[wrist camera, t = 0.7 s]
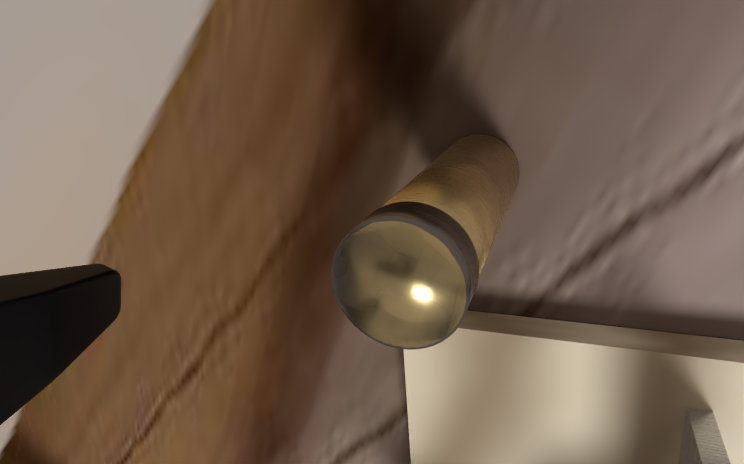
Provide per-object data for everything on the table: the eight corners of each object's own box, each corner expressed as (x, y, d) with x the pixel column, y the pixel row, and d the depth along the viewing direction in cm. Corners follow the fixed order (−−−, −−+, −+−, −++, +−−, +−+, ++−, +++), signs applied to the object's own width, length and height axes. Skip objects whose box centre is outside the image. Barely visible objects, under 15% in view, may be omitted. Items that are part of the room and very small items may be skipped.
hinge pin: (521, 132, 19) (468, 221, 10) (520, 213, 20) (469, 358, 11) (438, 133, 20) (324, 215, 11) (440, 210, 21) (338, 339, 12)
